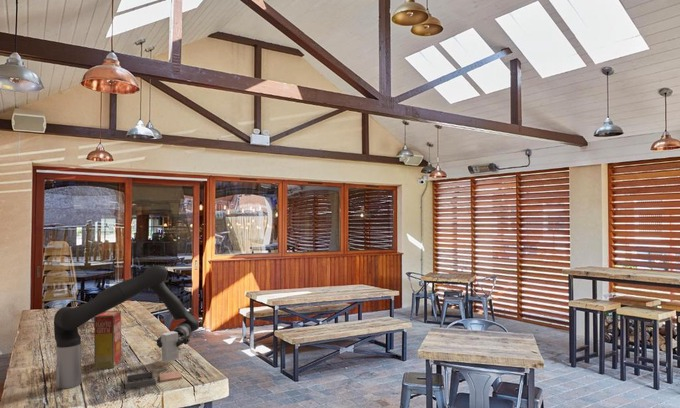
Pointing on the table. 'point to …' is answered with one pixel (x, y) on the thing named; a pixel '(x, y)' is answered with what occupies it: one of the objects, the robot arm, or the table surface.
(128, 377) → the tray
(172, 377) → the tile
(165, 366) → the table surface
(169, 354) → the skincare box
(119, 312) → the food packaging
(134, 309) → the table surface
